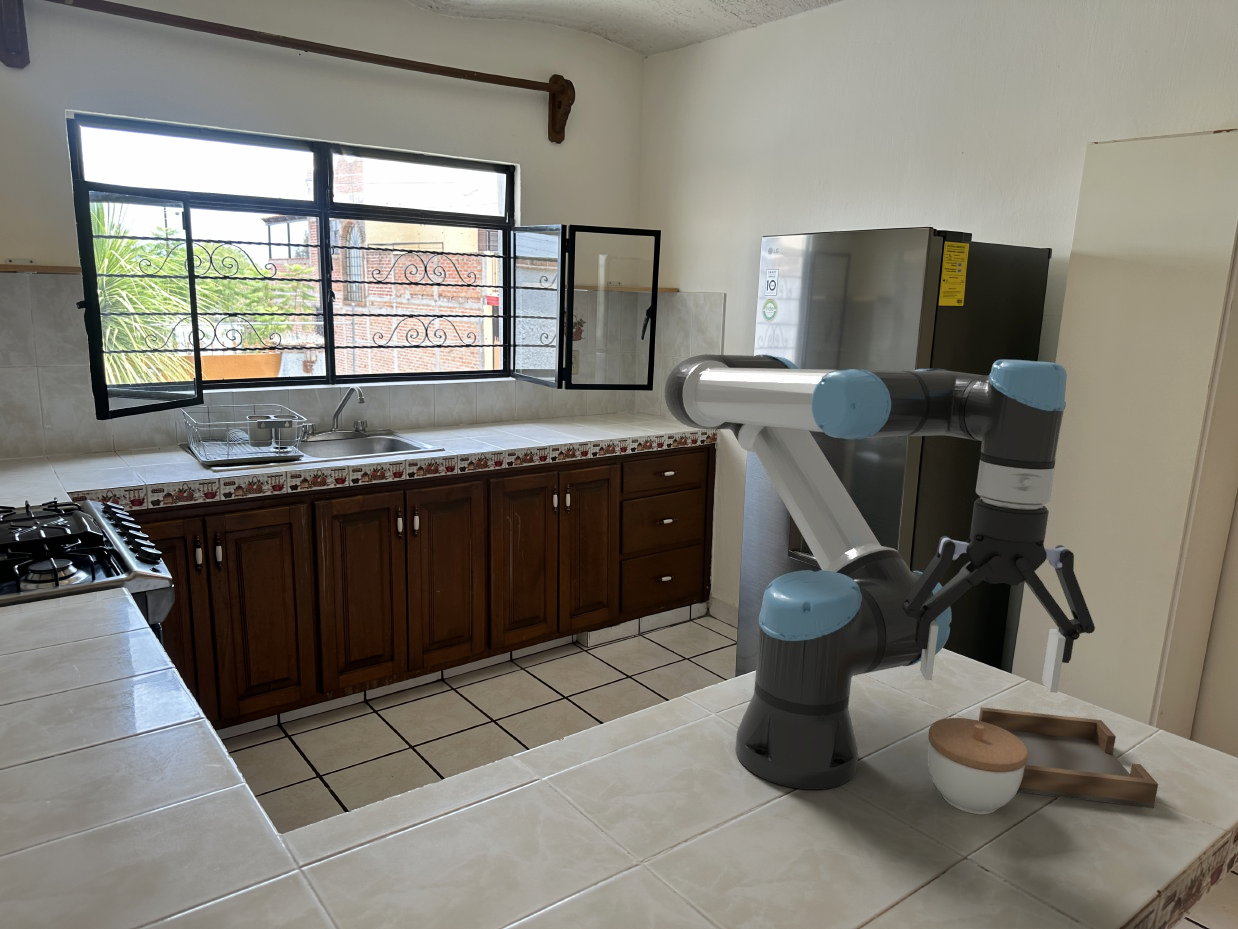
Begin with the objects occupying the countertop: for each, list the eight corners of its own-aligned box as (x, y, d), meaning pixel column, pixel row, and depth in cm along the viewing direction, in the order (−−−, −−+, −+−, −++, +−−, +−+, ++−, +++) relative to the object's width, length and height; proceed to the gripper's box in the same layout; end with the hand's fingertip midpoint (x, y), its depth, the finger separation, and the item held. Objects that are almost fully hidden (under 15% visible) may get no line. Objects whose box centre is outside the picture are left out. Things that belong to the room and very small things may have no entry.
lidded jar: (1000, 779, 104) (1010, 709, 103) (1033, 831, 94) (1045, 754, 92) (911, 770, 105) (920, 701, 104) (934, 821, 95) (945, 745, 93)
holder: (1014, 791, 102) (1017, 768, 101) (977, 727, 117) (980, 707, 117) (1153, 808, 100) (1158, 784, 99) (1097, 741, 115) (1101, 720, 115)
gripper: (901, 499, 91) (880, 683, 95) (1148, 518, 88) (1116, 707, 92) (889, 486, 98) (870, 657, 102) (1116, 502, 95) (1088, 678, 99)
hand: (986, 681), depth 97 cm, fingers open, 13 cm apart
